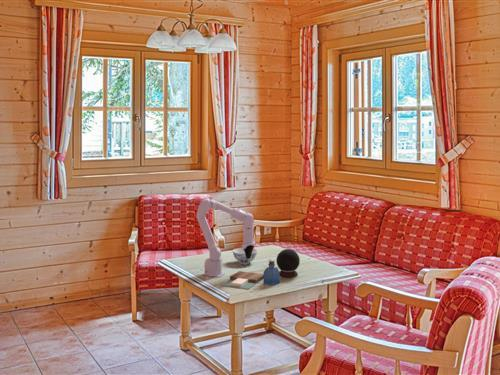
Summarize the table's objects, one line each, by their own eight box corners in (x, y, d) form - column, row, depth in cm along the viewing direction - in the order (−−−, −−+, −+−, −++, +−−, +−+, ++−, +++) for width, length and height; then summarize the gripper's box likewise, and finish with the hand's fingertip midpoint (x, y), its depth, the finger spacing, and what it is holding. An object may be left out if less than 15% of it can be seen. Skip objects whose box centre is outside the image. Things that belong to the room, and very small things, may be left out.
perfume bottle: (272, 285, 296) (272, 263, 295) (263, 283, 300) (263, 261, 299) (279, 283, 301) (279, 261, 299) (270, 280, 305) (270, 259, 303)
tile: (231, 285, 295) (231, 282, 295) (238, 280, 303) (238, 278, 303) (241, 286, 293) (241, 283, 293) (248, 282, 301) (248, 279, 301)
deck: (229, 280, 306) (229, 276, 306) (239, 274, 317) (239, 271, 316) (256, 283, 300) (256, 280, 299) (265, 277, 310) (265, 274, 310)
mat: (221, 285, 296) (221, 284, 296) (229, 280, 305) (229, 279, 305) (248, 289, 290) (248, 288, 289) (256, 283, 299) (256, 283, 299)
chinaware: (228, 264, 338) (228, 251, 337) (240, 258, 351) (240, 246, 350) (250, 267, 331) (250, 254, 330) (261, 261, 344) (261, 249, 343)
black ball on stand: (302, 277, 310) (302, 251, 308) (279, 279, 308) (279, 252, 306) (296, 271, 323) (296, 246, 321) (274, 272, 321) (274, 247, 319)
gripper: (249, 238, 305) (249, 262, 307) (259, 233, 319) (259, 256, 320) (238, 237, 308) (238, 260, 310) (248, 232, 321) (248, 254, 323)
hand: (248, 258), depth 315 cm, fingers closed
